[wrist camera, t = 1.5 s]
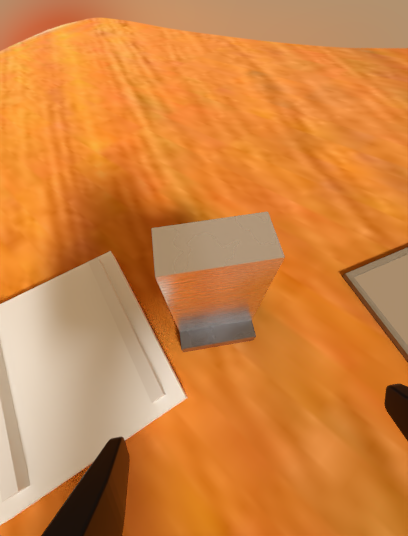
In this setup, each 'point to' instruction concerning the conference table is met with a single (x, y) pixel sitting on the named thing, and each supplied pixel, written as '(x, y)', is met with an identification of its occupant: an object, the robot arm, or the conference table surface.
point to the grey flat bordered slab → (385, 294)
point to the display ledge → (74, 378)
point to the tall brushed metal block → (216, 276)
